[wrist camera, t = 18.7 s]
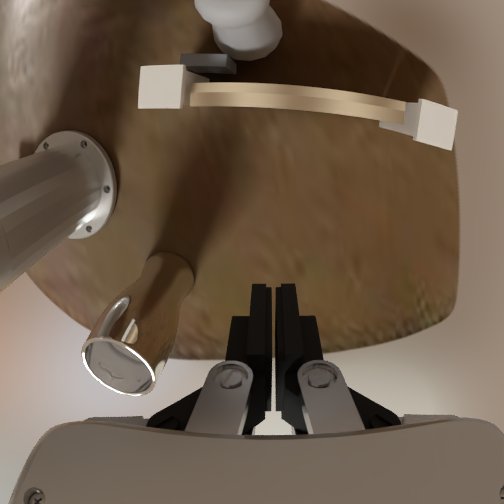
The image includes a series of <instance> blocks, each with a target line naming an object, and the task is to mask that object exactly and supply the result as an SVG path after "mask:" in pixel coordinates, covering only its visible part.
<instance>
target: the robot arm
mask: <svg viewBox="0 0 504 504" xmlns="http://www.w3.org/2000/svg"><path fill="white" fill-rule="evenodd" d="M109 187H110V188H109ZM116 197H117V182H116V176H115V172H114V168H113V165H112V162H111V160H110V159H109V157H108V155H107V153H106V151H105V150H104V149H103V147H102V146H101V145H100V144H99V143H98V142H97V141H96V140H95V139H94V138H92V137H91V136H89V135H87V134H85V133H83V132H79V131H75V130H66V131H61V132H57V133H54V134H52V135H50V136H49V137H47V138H46V139H44V140H43V141H42V142H41V143H40V145H39V146H38V147H37V149H36V151H35V152H34V154H32V155H29V156H26V157H23V158H20V159H18V160H15V161H12V162H9V163H7V164H4V165H1V166H0V293H2V292H3V291H4V290H5V289H6V288H7V287H8V286H9V285H11V284H12V283H13V282H14V281H15V280H16V279H17V278H19V277H20V276H21V275H22V274H23V273H24V272H26V271H27V270H28V269H29V268H30V267H31V266H33V265H34V264H35V263H36V262H37V261H39V260H40V259H41V258H42V257H43V256H45V255H46V254H47V253H48V252H49V251H51V250H52V249H53V248H54V247H56V246H57V245H58V244H59V243H61V242H62V241H63V240H65V239H66V238H71V239H82V238H86V237H89V236H91V235H93V234H95V233H96V232H97V231H99V230H100V229H101V228H102V227H103V226H104V225H105V224H106V223H107V222H108V220H109V218H110V217H111V215H112V212H113V210H114V207H115V203H116ZM275 373H276V374H275V375H276V376H275V377H276V411H281V412H282V419H283V420H285V421H286V422H287V423H289V424H290V425H291V426H292V434H293V435H254V434H255V426H256V425H258V424H259V423H260V422H262V421H263V420H264V419H265V411H271V387H272V291H271V287H266V284H252V293H251V305H250V316H233V317H232V320H231V327H230V333H229V340H228V346H227V353H226V359H225V361H224V362H221V363H219V364H216V365H215V366H214V367H213V368H211V370H210V371H209V373H208V376H207V378H206V381H205V383H204V385H203V387H202V388H200V389H198V390H196V391H195V392H193V393H191V394H190V395H188V396H186V397H184V398H183V399H181V400H179V401H177V402H176V403H174V404H172V405H170V406H168V407H167V408H165V409H163V410H161V411H159V412H157V413H156V414H154V415H153V416H152V417H151V418H150V419H144V418H143V416H133V417H93V418H88V419H86V420H84V421H76V422H68V423H64V424H60V425H57V426H55V427H52V428H51V429H49V430H48V431H47V432H46V433H45V434H44V435H43V436H42V437H41V438H40V439H39V441H38V442H37V444H36V446H35V447H34V449H33V450H32V452H31V454H30V455H29V457H28V459H27V461H26V463H25V465H24V467H23V469H22V472H21V474H20V476H19V478H18V480H17V483H16V485H15V488H14V490H13V493H12V496H11V498H10V501H9V504H504V434H503V432H502V431H501V430H500V429H499V428H498V427H497V426H495V425H494V424H492V423H490V422H487V421H484V420H480V419H473V418H459V417H457V416H454V415H411V414H405V415H404V416H403V417H398V416H397V415H396V414H394V413H393V412H392V411H390V410H388V409H386V408H384V407H383V406H381V405H379V404H377V403H375V402H374V401H372V400H370V399H368V398H367V397H365V396H363V395H361V394H359V393H358V392H356V391H354V390H352V389H351V388H349V387H347V384H346V382H345V380H344V378H343V375H342V373H341V371H340V370H339V368H338V367H337V366H336V365H335V364H333V363H331V362H328V361H324V360H323V354H322V349H321V343H320V338H319V332H318V327H317V322H316V317H315V316H299V310H298V302H297V294H296V287H295V284H281V287H276V312H275Z"/></svg>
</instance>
